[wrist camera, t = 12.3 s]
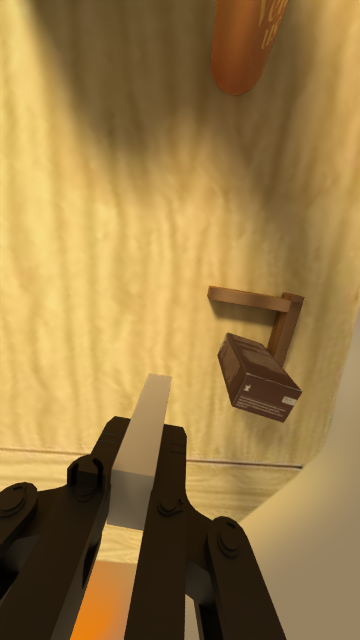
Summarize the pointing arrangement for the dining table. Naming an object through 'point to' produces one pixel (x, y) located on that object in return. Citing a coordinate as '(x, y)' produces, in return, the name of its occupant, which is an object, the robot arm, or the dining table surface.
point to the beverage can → (243, 41)
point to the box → (256, 379)
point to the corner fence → (285, 307)
